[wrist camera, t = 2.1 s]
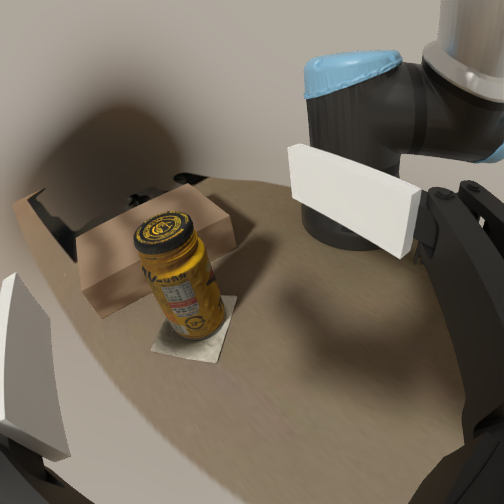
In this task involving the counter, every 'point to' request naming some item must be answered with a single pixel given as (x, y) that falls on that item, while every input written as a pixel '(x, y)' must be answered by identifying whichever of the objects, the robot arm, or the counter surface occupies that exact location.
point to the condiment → (183, 287)
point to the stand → (126, 255)
